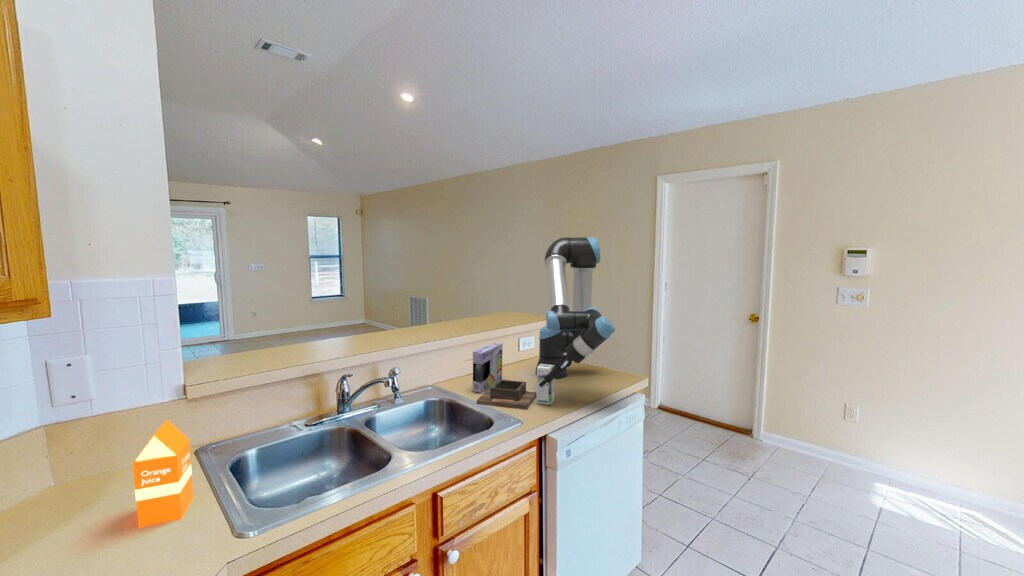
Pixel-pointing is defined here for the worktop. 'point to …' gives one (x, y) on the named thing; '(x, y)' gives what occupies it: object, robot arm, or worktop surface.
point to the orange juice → (163, 477)
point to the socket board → (508, 395)
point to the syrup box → (548, 391)
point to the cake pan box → (487, 366)
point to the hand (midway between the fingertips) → (536, 387)
